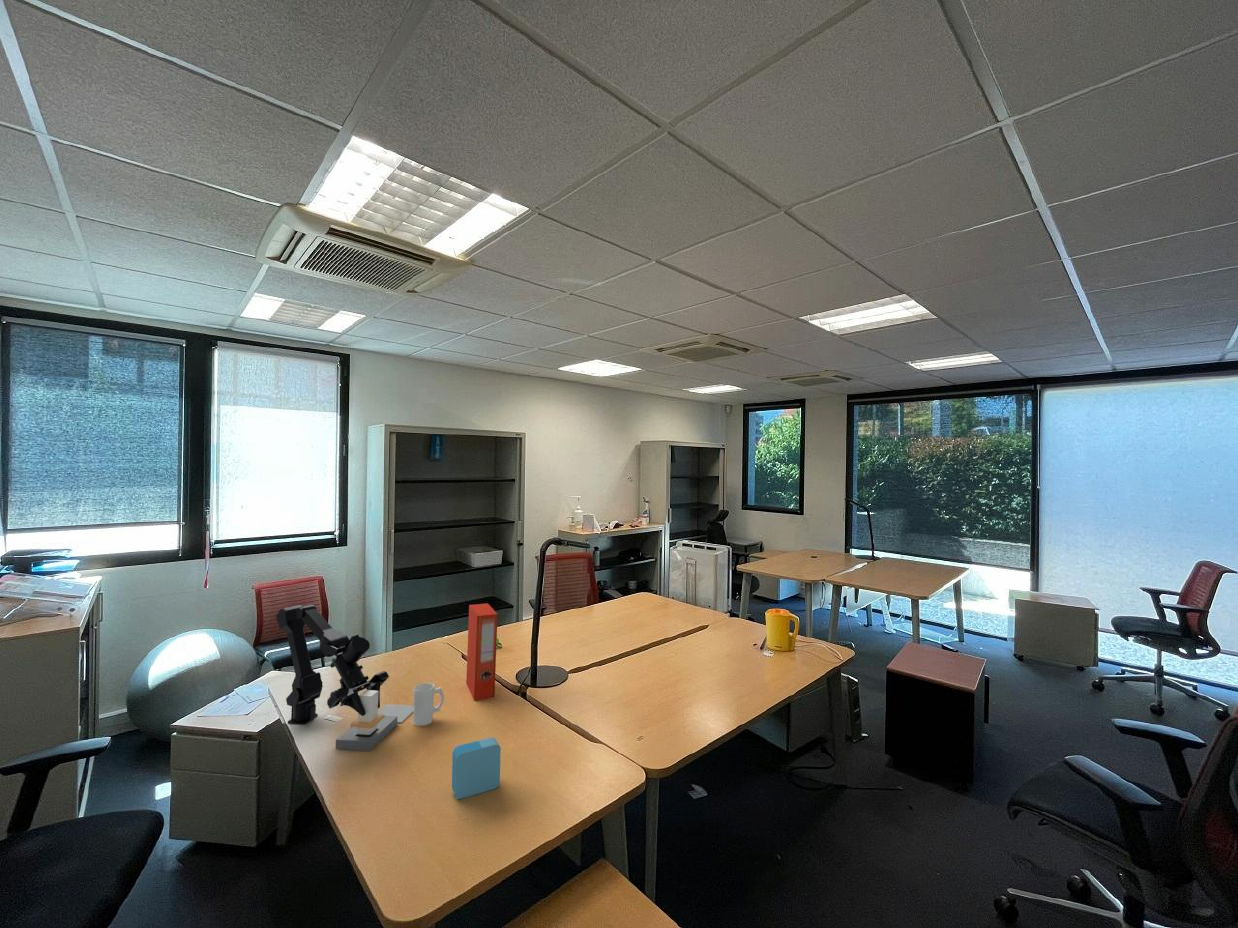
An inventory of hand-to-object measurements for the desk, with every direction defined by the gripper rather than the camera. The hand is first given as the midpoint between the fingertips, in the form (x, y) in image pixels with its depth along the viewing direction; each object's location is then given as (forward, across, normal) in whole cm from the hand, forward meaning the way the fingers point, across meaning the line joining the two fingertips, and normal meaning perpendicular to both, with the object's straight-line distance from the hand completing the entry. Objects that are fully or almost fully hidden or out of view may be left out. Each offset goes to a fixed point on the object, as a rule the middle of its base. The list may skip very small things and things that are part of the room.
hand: (371, 711), depth 155 cm
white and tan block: (+4, 0, -6) cm, 7 cm away
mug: (+11, -18, -3) cm, 22 cm away
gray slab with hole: (+4, -2, -10) cm, 11 cm away
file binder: (+11, -46, -4) cm, 47 cm away
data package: (+39, +3, +25) cm, 46 cm away
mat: (+1, -17, -13) cm, 21 cm away
